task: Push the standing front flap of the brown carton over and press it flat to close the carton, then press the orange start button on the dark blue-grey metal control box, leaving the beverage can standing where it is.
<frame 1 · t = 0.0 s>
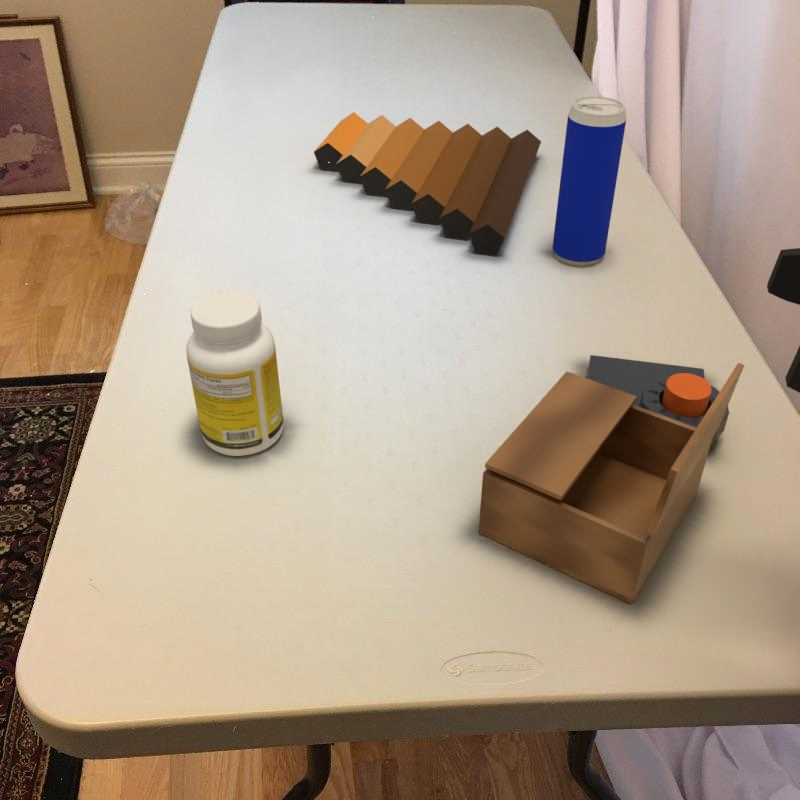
hand: (783, 313, 40), 22 cm above the table, tool horizontal, fingers open, 7 cm apart
control box: (643, 407, 71), on the table
start button: (686, 395, 66), point 4 cm above the table, slide at 0.1 cm
carton: (590, 512, 62), on the table
pan flute: (412, 191, 102), on the table
beverage can: (577, 256, 90), on the table
pill bottle: (243, 433, 68), on the table
flap: (697, 445, 54), point 9 cm above the table, hinge at 95.0°
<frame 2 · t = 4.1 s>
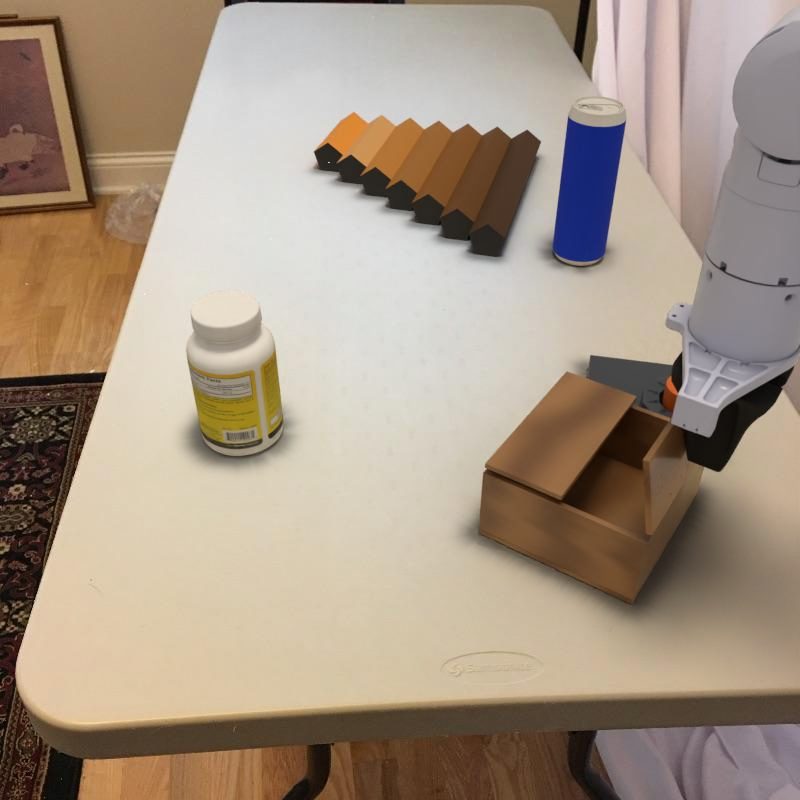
hand: (706, 460, 54), 8 cm above the table, tool pointing down, fingers closed, pressing on flap
flap: (684, 441, 54), point 9 cm above the table, hinge at 78.0°, touching gripper
everything else where it was.
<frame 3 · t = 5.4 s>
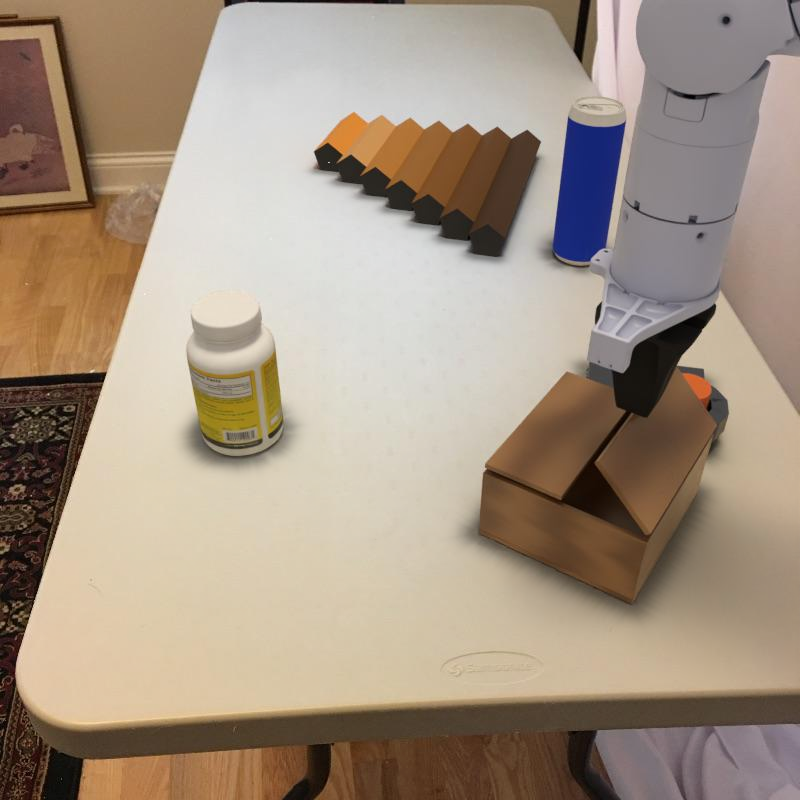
hand: (635, 406, 55), 10 cm above the table, tool pointing down, fingers closed, pressing on flap
flap: (660, 442, 55), point 8 cm above the table, hinge at 44.9°, touching gripper
everything else where it was.
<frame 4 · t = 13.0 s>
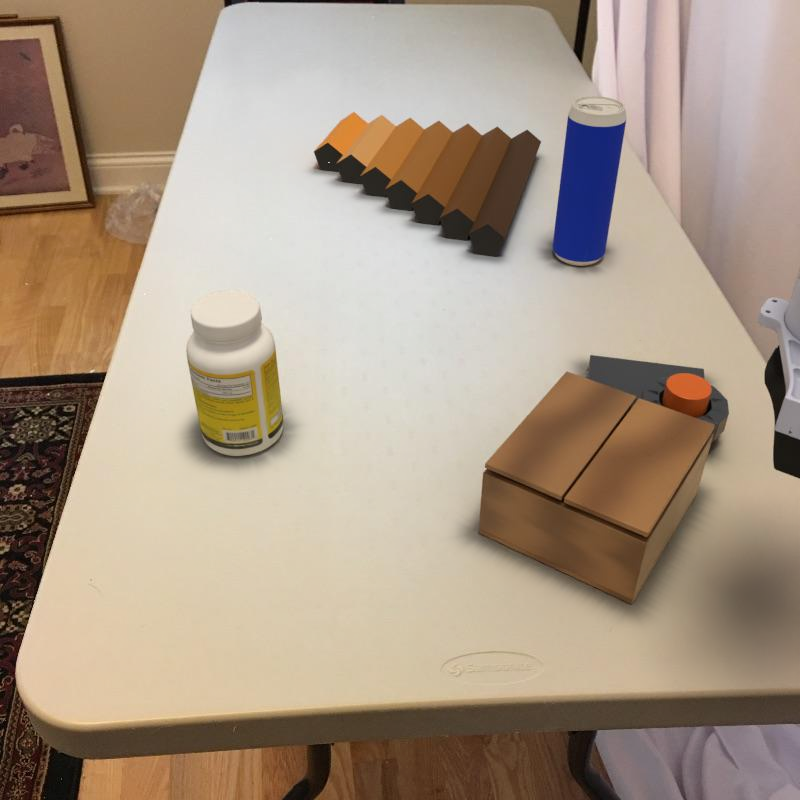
hand: (795, 468, 50), 10 cm above the table, tool pointing down, fingers closed
flap: (642, 461, 57), point 6 cm above the table, hinge at -0.7°
everything else where it was.
at the end: flap at -1° (first picture: +95°); start button pushed in 1.1 cm at the most during the clip, back to where it started at the end; beverage can moved 0.2 cm from its start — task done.
